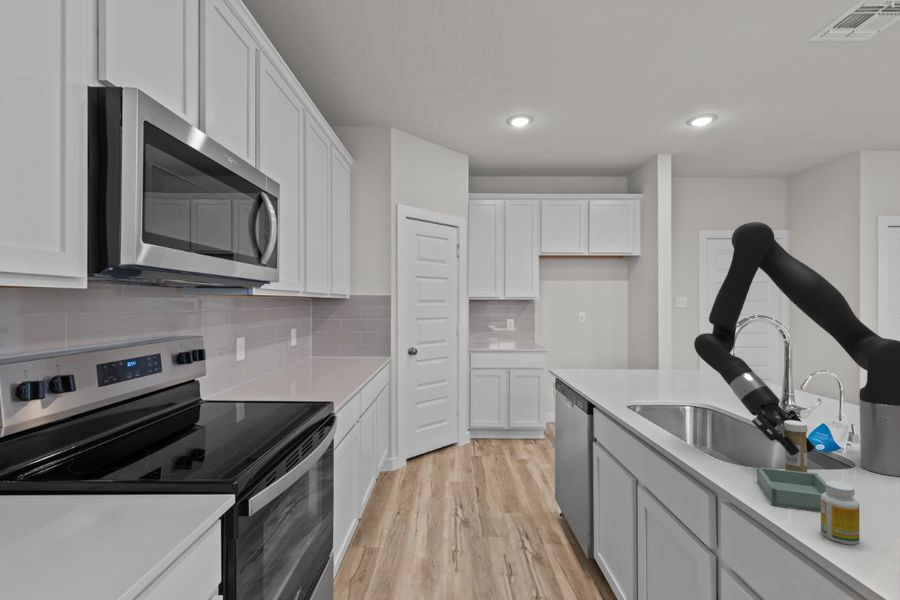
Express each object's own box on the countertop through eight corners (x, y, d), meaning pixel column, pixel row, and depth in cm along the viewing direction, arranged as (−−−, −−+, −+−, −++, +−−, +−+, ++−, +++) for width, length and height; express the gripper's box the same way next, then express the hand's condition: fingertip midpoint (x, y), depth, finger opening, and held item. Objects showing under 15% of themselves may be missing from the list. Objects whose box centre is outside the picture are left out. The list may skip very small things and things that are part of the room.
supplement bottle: (813, 532, 84) (812, 481, 84) (835, 528, 86) (834, 477, 86) (845, 547, 79) (844, 492, 79) (867, 543, 80) (866, 489, 81)
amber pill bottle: (813, 480, 109) (812, 424, 109) (796, 481, 108) (795, 425, 108) (796, 473, 113) (795, 419, 113) (779, 474, 112) (778, 420, 113)
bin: (757, 481, 108) (756, 466, 108) (817, 488, 104) (817, 473, 104) (772, 505, 96) (771, 488, 96) (841, 514, 91) (841, 497, 91)
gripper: (744, 387, 115) (796, 448, 104) (781, 382, 120) (834, 440, 109) (725, 403, 120) (773, 464, 109) (761, 398, 125) (810, 455, 114)
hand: (803, 451), depth 109 cm, fingers open, 5 cm apart
